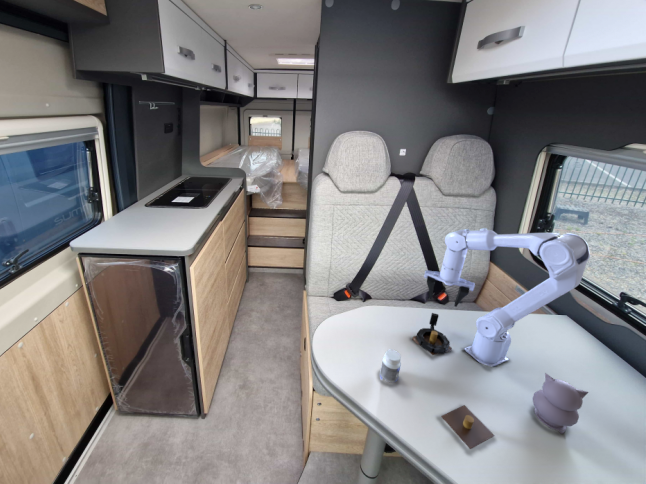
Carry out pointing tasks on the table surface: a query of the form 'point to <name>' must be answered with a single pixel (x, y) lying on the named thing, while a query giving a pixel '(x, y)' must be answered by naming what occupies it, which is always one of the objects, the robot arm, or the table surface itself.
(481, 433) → the short peg stand
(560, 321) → the table surface
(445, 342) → the hanger ring
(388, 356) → the pill bottle
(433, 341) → the tall peg stand
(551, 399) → the cat figurine
